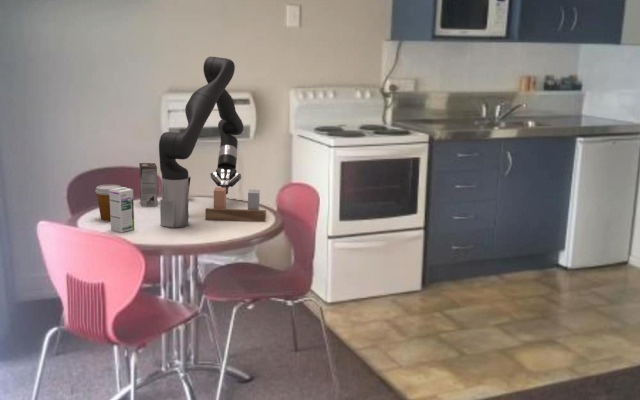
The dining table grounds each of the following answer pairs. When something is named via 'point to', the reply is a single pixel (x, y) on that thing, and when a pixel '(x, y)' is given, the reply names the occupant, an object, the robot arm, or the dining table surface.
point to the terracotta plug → (219, 198)
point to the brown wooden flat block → (235, 215)
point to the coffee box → (148, 184)
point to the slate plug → (253, 199)
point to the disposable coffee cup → (105, 200)
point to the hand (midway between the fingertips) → (224, 194)
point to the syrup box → (121, 209)
